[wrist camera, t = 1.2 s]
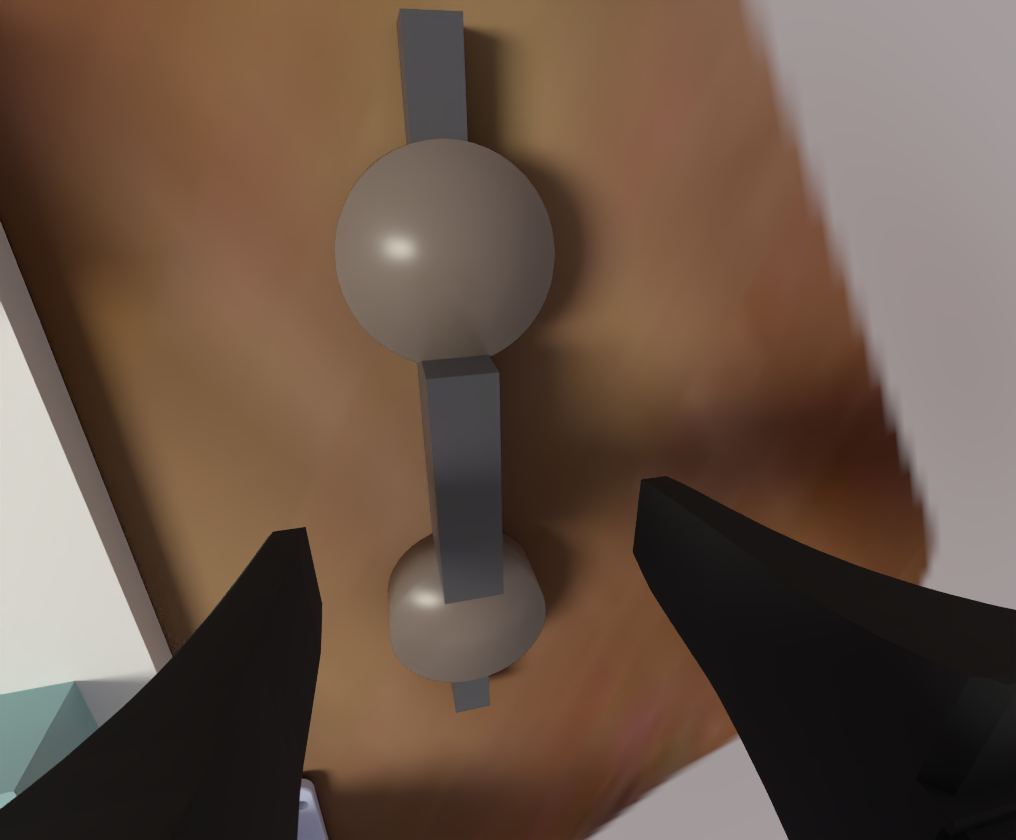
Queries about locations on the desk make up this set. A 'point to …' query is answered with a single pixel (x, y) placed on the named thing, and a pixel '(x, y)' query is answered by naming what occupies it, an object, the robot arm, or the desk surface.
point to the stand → (57, 564)
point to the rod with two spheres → (451, 355)
